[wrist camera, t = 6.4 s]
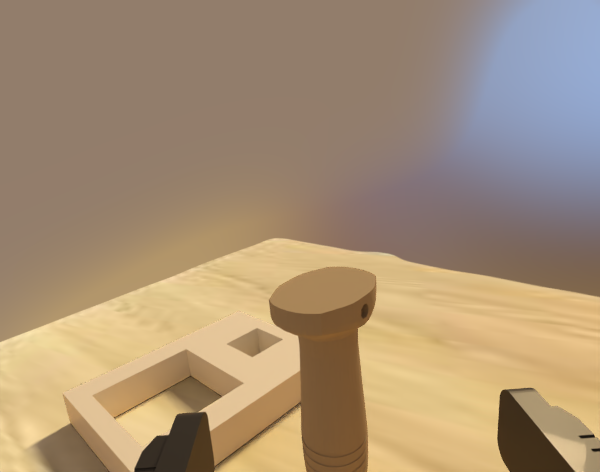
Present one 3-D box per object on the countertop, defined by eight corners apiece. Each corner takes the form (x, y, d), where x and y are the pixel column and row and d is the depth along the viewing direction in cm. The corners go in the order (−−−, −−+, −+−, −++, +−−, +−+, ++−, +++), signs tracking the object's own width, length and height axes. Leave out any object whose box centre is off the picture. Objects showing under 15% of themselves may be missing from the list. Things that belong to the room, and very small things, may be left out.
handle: (397, 489, 27) (393, 275, 23) (344, 573, 23) (328, 322, 19) (335, 457, 30) (322, 262, 26) (277, 525, 26) (250, 300, 22)
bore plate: (241, 333, 49) (238, 310, 48) (333, 376, 40) (332, 348, 39) (70, 422, 36) (62, 393, 36) (146, 517, 27) (137, 480, 26)
